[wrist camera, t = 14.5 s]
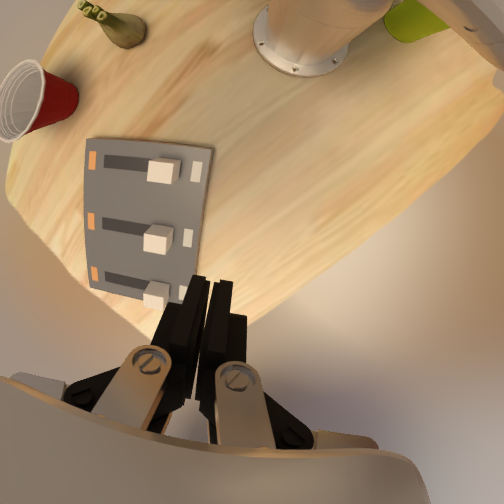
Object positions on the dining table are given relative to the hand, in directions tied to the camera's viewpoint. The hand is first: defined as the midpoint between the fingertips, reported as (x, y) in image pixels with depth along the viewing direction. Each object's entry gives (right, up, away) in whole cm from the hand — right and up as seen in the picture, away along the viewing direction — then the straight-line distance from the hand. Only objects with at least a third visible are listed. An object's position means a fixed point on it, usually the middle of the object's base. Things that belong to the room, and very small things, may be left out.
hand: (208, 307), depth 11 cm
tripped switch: (-10, +5, +25) cm, 27 cm away
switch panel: (-14, +7, +27) cm, 31 cm away
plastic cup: (-27, +25, +18) cm, 41 cm away
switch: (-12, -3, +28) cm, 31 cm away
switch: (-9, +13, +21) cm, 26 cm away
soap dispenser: (+23, +35, +14) cm, 44 cm away
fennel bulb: (-15, +33, +15) cm, 39 cm away
